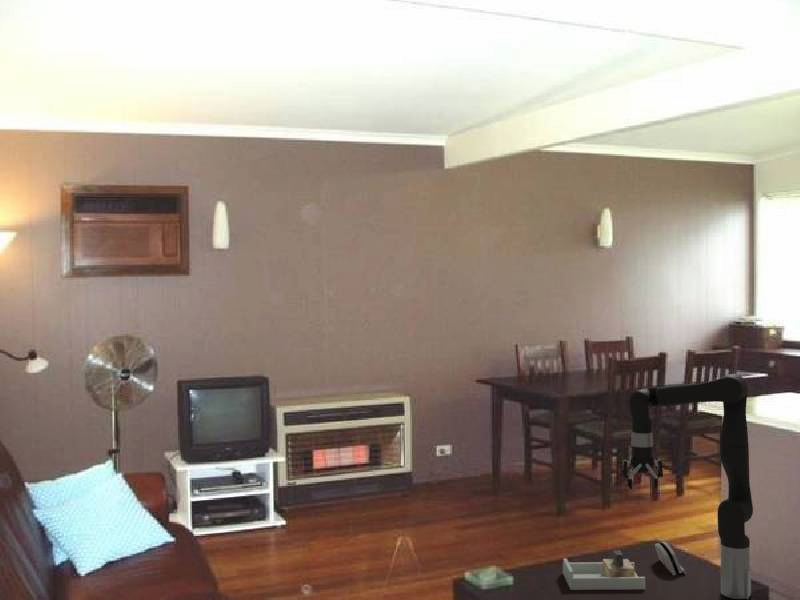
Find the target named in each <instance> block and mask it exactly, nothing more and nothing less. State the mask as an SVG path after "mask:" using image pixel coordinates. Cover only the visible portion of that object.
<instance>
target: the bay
mask: <svg viewBox="0 0 800 600" xmlns="http://www.w3.org/2000/svg"><path fill="white" fill-rule="evenodd" d="M562 561H563V562H562V575H563V576H564V577H563V578H564V579H565V581H566V584H567V585H568V587H569V590H571V591H576V590H577V591H580V590H582V591H584V590H585V591H586V590H587V591H588V590H591V591H592V590H593V591H594V590H595V591H596V590H604V591H605V590H609V591H610V590H615V591H616V590H646V577H645V576H638V574H637V573H636V569H635V568H636V567H635V562H634V561H629V562H630V563H631V564H632V566H633V567H634V576H635V577H605V575H604V574H603V561H601V562H600V561H598V562H597V561H596V562H593V561H592V562H590V561H589V562H588V561H586V562H583V561H582V562H578V561H577V562H570V561H569V560H568V559H567V557H563V559H562Z"/></svg>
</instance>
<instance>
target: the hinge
mask: <svg viewBox="0 0 800 600" xmlns="http://www.w3.org/2000/svg"><path fill="white" fill-rule="evenodd" d="M654 547H655V550H656V554H657V556H658V558H659V561H660V562H661V563H662V564H663V566H664V565H665V566H664V567H665V568H666V569H667V570H668V571H669V573H670V574H671V573H672V574H671V575H672V576H677V574H682V573H683V575H685V576H688V575H687V572H686V570H685V569H684V568H683V567H682V566H681V564H680V563H679V560H678V557H677V555H676V553H675V551H674V549H673V548H672V547H671V546H670V544H669V543H667V542H666V541H660V542H659V543H658V542H657V543H655V544H654Z"/></svg>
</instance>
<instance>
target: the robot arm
mask: <svg viewBox="0 0 800 600" xmlns="http://www.w3.org/2000/svg"><path fill="white" fill-rule="evenodd" d="M628 400H629V401H628V404H629V405H628V406H629V412H630V417H631V438H630V439H631V440H630V441H631V442H630V443H631V444H630V445H631V447H630V448H631V449H630V451H631V456H630V457H631V459H630V460H626V459H623V460H622V464H621V476H622V477H623V478H626V485H627V487H628V488H629V490H633V477H634V476H635V475H637V473H639V474H641V473H645V474H646V473H648V472H649V473H650V474H651V476H652V479H651V480H652V483H651V485H652V489H653V490H656V489H657V488H658V486H659V485H658V484H659V482H658V480H659V478H663V477H664V468H663V461H662V460H661V459H657V460H656V459H655V460H654V437H653V419H652V418H651V416H649V415H650V414H649V408H651V407H652V408H653V407H659V406H660V407H671V406H672V407H673V406H678V405H679V406H680V405H686V404H693V403H700V402H701V403H702V402H719V403H720V402H722V406H723V418H722V424H721V429H720V433H719V434H720V435H719V457H720V461H721V464H722V468H723V470H724V472H725V475H726V478H727V484H728V496H727V499H724V500H722V501H721V502H720V503H719V505H718V507H717V532H718V537H719V539H720V593H721V595H723V596H724V597H725V598H726V597H727V598H729V599H735V600H749V598H750V596H751V595H752V568H751V567H752V566H750V564H751V563H750V561H751V559H750V557H751V555H750V554H751V550H750V545H751V544H750V543H751V542H750V537H749V536H748V535H747V534H746V531H745V530H746V528H745V527H746V523H747V522H749V520H751V519H752V516H753V513H754V506H753V498H752V492H751V485H750V448H749V446H750V445H749V434H748V433H749V431H748V422H747V400H748V383H747V381H746V380H745V378H744V377H743V376H742V375H740V374H737V373H729V374H726V375H724V376H722V377H720V378H718V379H715V380H710V381H707V382H702V383H693V384H691V383H690V384H689V383H688V384H687V383H686V384H672V385H666V386H661V387H660V386H659V387H647V388H640V389H637V390H634V391H633V392H632V393H631V394H630V396H629V399H628ZM630 465H631V466H632V467H631V468H630V469H629V472H628V467H630ZM654 465H655V466H656V468H657V472H655V471H654V469H653V466H654Z"/></svg>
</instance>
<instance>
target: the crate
mask: <svg viewBox="0 0 800 600" xmlns="http://www.w3.org/2000/svg"><path fill="white" fill-rule="evenodd" d="M612 557H613V558H603V559H602V562H603V574H604V575H605V577H635V576H634V567H633V566H632V564H631V563H630V562H631V561H630V560H629V559H628V558H624V554H623V552H622V551H621V550H620V549H619V550H617V549H615V550H613V554H612Z"/></svg>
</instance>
